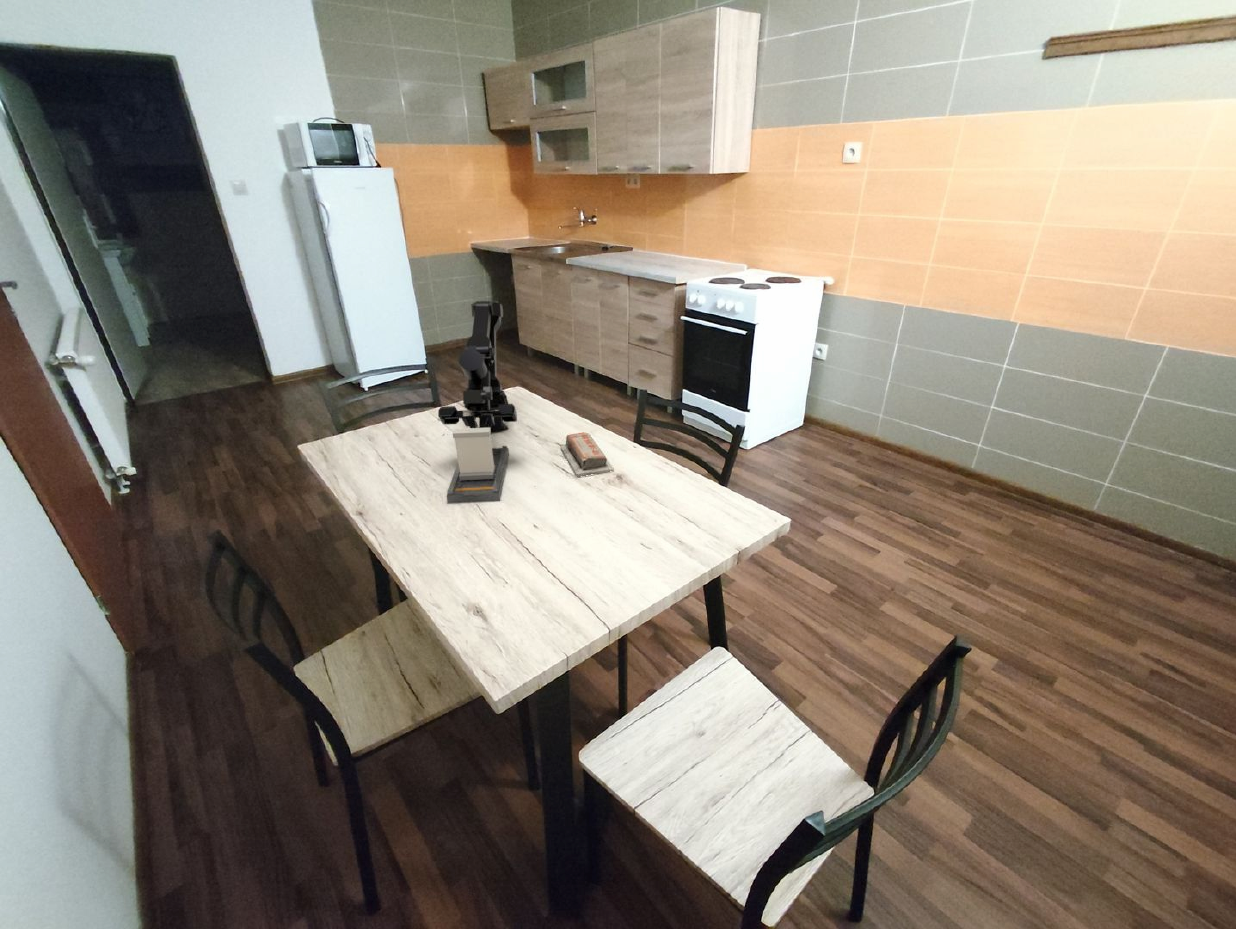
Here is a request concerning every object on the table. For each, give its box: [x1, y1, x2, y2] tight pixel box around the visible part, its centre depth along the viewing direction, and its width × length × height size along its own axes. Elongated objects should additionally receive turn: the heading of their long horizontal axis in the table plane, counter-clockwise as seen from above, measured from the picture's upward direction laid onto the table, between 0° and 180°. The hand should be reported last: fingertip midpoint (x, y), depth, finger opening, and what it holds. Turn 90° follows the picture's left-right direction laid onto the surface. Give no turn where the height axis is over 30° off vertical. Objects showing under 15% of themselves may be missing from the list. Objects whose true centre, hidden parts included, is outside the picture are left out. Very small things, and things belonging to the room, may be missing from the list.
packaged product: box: [559, 431, 615, 478], centre depth 150 cm, size 18×5×10 cm
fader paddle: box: [452, 427, 496, 480], centre depth 136 cm, size 5×8×12 cm, turn 94°
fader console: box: [446, 445, 510, 504], centre depth 142 cm, size 24×12×3 cm, turn 4°
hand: (478, 446), depth 141 cm, fingers closed
